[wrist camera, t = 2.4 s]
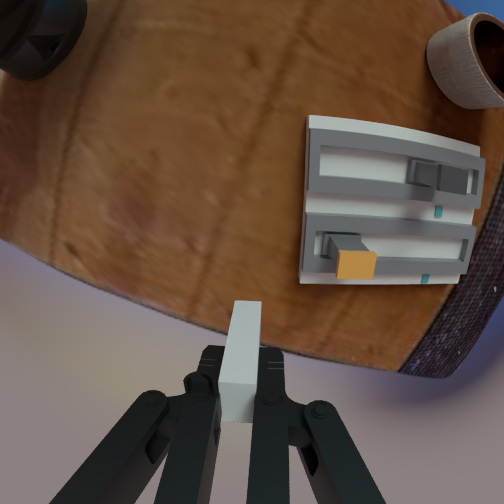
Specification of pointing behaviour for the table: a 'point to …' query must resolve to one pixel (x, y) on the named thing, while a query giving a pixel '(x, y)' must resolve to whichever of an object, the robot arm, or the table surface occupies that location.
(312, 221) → the console
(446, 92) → the planter
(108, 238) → the table surface
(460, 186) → the fader
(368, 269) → the fader
